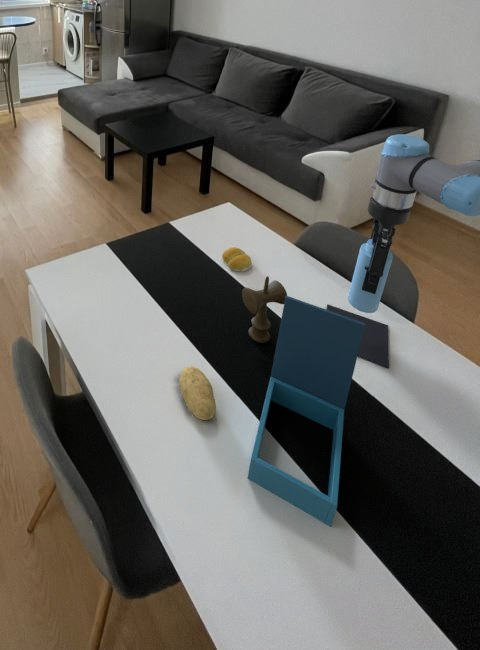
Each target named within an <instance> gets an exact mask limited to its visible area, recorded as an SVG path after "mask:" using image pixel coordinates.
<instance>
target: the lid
mask: <svg viewBox="0 0 480 650" xmlns="http://www.w3.org/2000/svg"><path fill="white" fill-rule="evenodd" d="M364 327H365V323H363V322H360V321H357V320H354V319H351V318H349V317H346V316H343V315H340V314H337V313H334V312H332V311H329V310H327V308H326V309H325V308H323V307H320V306H317V305H314V304H311V303H309V302H306V301H303V300H301V299H297V298H295V297H291V296H289V295H287V296H286V297H285V302H284V304H283V308H282V313H281V320H280V324H279V330H278V335H277V341H276V345H275V350H274V351H275V352H274V357H273V361H272V362H273V363H272V366H271V367H272V368H271V372H270V377H274V378H276V379H278V380H280V381H282V382H285V383H287V384H289V385H291V386H294V387H296V388H298V389H300V390H302V391H305V392H307V393H309V394H311V395H314V396H316V397H318V398H320V399H322V400H325V401H327V402H329V403H331V404H334V405H336V406H338V407H340V408H342V409H344V410H345V409H346V405H347V401H348V397H349V393H350V388H351V386H352V385H351V384H352V381H353V377H354V372H355V369H356V363H357V360H358V357H357V356H358V352H359V348H360V343H361V339H362V335H363V331H364Z"/></svg>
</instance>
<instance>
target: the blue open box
mask: <svg viewBox="0 0 480 650" xmlns="http://www.w3.org/2000/svg"><path fill="white" fill-rule="evenodd" d="M272 402H273V403H276V404H278V405H280V406H282V407H284V408H287V409H288V410H290V411H292V412H294V413H296V414H298V415H301V416H303V417H305V418H307V419H309V420H311V421H314V422H315V423H317V424H320V425H322V426H324V427H326V428H328V429H330V430H332V432H333V433H332V434H333V435H332V444H331V454H330V463H329V464H330V465H329V477H328V486H327V487H328V488H327V494H325V493H323V492H321V491H320V490H318V489H316V488H314V487H313V486H311V485H309V484H307V483H305V482H304V481H302V480H300V479H297V478H296V477H294V476H293V475H291V474H289V473H287V472H285V471H283V470H282V469H279V468H278V467H276V466H274V465H272V464H271V463H269V462H267V461H265V460H263V459H262V458H259V456H260V450H261V447H262V442H263V438H264V433H265V430H266V429H265V428H266V425H267V420H268V416H269V412H270V408H271V403H272ZM344 421H345V409H344V408H341V407H339V406H337V405H335V404H333V403H330V402H328V401H326V400H324V399H321V398H319V397H317V396H315V395H313V394H310V393H308V392H306V391H304V390H301V389H299V388H297V387H295V386H293V385H290V384H288V383H286V382H284V381H281V380H279V379H277V378H275V377H273V376H270V379H269V382H268V387H267V391H266V394H265V399H264V403H263V407H262V411H261V416H260V419H259V423H258V427H257V432H256V436H255V440H254V443H253V448H252V452H251V456H250V462H249V467H248V474H247V479H248V480H249V481H250V482H253V483H254V484H256V485H258V486H259V487H261V488H263V489H264V490H267V491H268V492H270V493H272V494H273V495H275V496H277V497H278V498H280V499H282V500H284V501H285V502H287V503H289V504H290V505H293V506H294V507H295V508H297V509H299V510H300V511H302V512H304V513H306V514H307V515H309V516H311V517H313V518H315V519H316V520H318V521H320V522H322V523H323V524H325V525H326V526H328V527H330V528H331V527H332V526H333V522H334V518H335V516H336V511H337V509H338V504H339V503H338V502H339V501H338V500H339V486H340V473H341V459H342V449H343V447H342V446H343V433H344V432H343V431H344Z"/></svg>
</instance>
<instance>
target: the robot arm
mask: <svg viewBox="0 0 480 650" xmlns="http://www.w3.org/2000/svg"><path fill="white" fill-rule="evenodd" d="M374 179H375V181H374V183H370V185H369V186H370V188H371V189H372V191H371V197H370V199H369V202H368V206H367V213H368V215H370V216H371V218H373V224H372V230H371V233H370V237H369V238H368V240H369V239H372V241H373V242H374V246H373V250H372V255H371V259H370V264H369V267H367V266H365V270H367V271H366V274H365V278H364V282H363V285H362V290H363V291H366V292H370V293H373V294H376V290H377V287H378V283H379V280H380V277H382V276H383V271H384V268H385V264H386V260H387V256H388V253H389V251H390V250H389V249H391V247H392V245H393V237H394V236H395V234H396V226H401V225H405V224H407V222H408V221H409V217H410V215H411V214H410V213H411V211H412V207H413V205H414V202H415V198H416V195H417V192H419V193H420V194H422V195H424V196H426V197H428V198H429V199H432V200H433V201H436V202H437V203H439V204H440V205H443V206H445V207H446V208H448V209H449V210H453V211H456V212H457V213H460V214H462V215H464V216H468V217H478V216H480V158H477V159H471V160H468V161H463V162H460V163H457V164H450V163H449V162H446V161H444V160H441V159H439V158H436V157H435V156H432V155H430V144H429V143H428V141H426V140H425V139H423V138H422V137H418V136H416V135H413V134H404V133H402V134H401V133H399V134H393V135H390V136H388V137H387V138H386V139H385V142H384V145H383V148H382V151H381V152H380V159H379V163H378V168H377V174H376V176H375V178H374ZM376 238H377V239H376Z"/></svg>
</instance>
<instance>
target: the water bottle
mask: <svg viewBox="0 0 480 650" xmlns="http://www.w3.org/2000/svg"><path fill="white" fill-rule="evenodd" d="M376 239H377V238H376ZM373 246H374V242H373V241H372V239H369V238H368V240H367V241H366V242H364V243H362V244H361V245H360V248H359V252H358V255H357V259H356V264H355V267H354V271H353V275H352V279H351V283H350V287H349V291H348V295H347V302H348V304H350V306H352V307H353V308H354V309H355V310H357V311H359V312H362V313H365V314H373V313H376V312H377V311H378V310H379V306H380V303H381V299H382V297H383V293H384V289H385V286H386V283H387V279H388V276H389V274H390V273H389V272H390V268H391V266H392V262H393V259H394V255H393V253H392V251H391V250H390V249H391V248H390V249H389V253H388V256H387V260H386V264H385V268H384V271H383V276H382V277H380V280H379V283H378V287H377V290H376V294H373V293H370V292H366V291H363V290H362V285H363V282H364V278H365V274H366V271H367V270H365V266H367V267H369V264H370V259H371V255H372V250H373Z"/></svg>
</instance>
